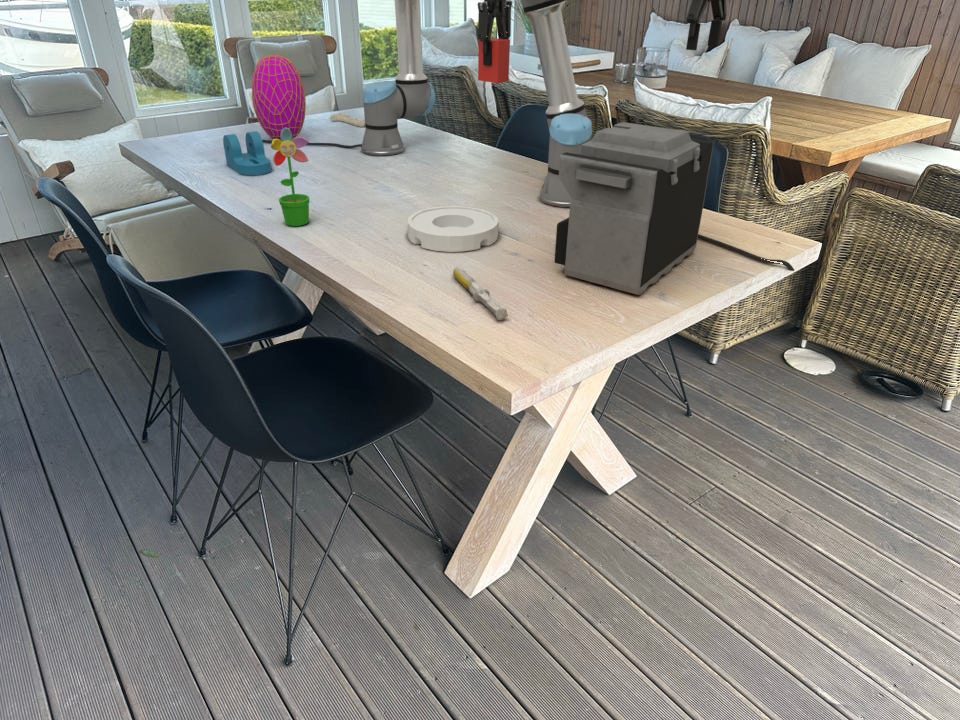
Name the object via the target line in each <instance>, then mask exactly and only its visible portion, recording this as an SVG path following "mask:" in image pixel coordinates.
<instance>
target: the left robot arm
mask: <svg viewBox="0 0 960 720" xmlns="http://www.w3.org/2000/svg"><path fill="white" fill-rule="evenodd" d="M420 1H421V0H394V12H395V27H396V28H395V30H396V45H397V63H398V74H397V75H396V76H395V82H394V81H393V80H382V81H381V80H380V81H373V82H371V83H368V84H366V85H365V86H364V88H363V90H362V102H363V115H364V116H363V117H364V120H365V126H364V127H365V130H364V134H363V137H362V143H359V144H353V145H352V144H351V145H347V144H341V143H335V142H309V143H307V144H306V145H305V146H331V147H338V148H344V149H355V148H361V152H362V153H363V154H366V155H368V156H377V157H378V156H379V157H384V156H393V155H399V154H401V153H403V152H404V151H405V148H404V147H405V146H404V143H403V140H402V137H401V134H400V131H399V127H398V126H399V125H398V120H401V119H403V120H404V119H407V118H420V117H422V116H427V115H428V114H430V113H431V111H432V110H433V108H434V106H435V101H436V91H435V89H434V85H433V84H432V83H431V82H430V81H428V80H429V79H428V76H427V75H426V74H425V73H424V64H423V63H424V62H423V42H422V23H421V22H422V20H421V2H420ZM512 7H513V1H512V0H483V1H480V2H477V10H478V15H477V17H478V19H477V20H478V21H477V40H478V41H479V40H480V41H482V42H483V65H487V66H492V42H490V39H491V38H492V35H493V34H492V33H493V28H494V22H495V24H496V25H495V26H496V31H497V38H498V39H507V40H510V37H511V34H512V33H511V32H512V30H511V28H512V27H511V26H512V25H511V23H512ZM262 141H263V143H265V144H266V143H267V144H272V141H273V140H269V139H268V140H267V139H262Z"/></svg>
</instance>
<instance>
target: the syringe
mask: <svg viewBox="0 0 960 720" xmlns="http://www.w3.org/2000/svg"><path fill="white" fill-rule="evenodd" d="M452 274H453V277H454V279H455V280H457V281H458V282H459V283H460V285H462V287H464V289H466V290H467V291H468V293H470V295H471V296H472V298H473V300H474V302H477V303H478V302H480V303H482V304H483V305H484V306H485V307H486V308H487V309H488V310H489V311H490V312H491V313H492V314H493V315H494V316H495V317H496V320H497V321H503V320H504V319H506V318H507V317H509V314H508V310H507V308H506V307H502V306H501V305H500V303H498V302H497V301H496V300H494V299H493V298H492V297H491V296H490V295H491V293H490V290H488V289H486V288H483V287H482V286H481V285H480V284H479V283H478V282H477V281H476V280H474V278H473V277H471V275H469V274H468V273H467V272H466V270H465V269H464V268H463V267H462V266H456V267H454V268H453V271H452Z"/></svg>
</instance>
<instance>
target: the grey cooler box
mask: <svg viewBox="0 0 960 720" xmlns="http://www.w3.org/2000/svg"><path fill="white" fill-rule="evenodd" d="M593 135H594V136H593V137H591V141H589V142H586V143H584V144H582V145H581V154H580V155H579V154H573V153H568V152H566V153H563V154H561V155H560V165H559V178H560V180H561V181H562V183H563V185H564V186H565V188H566V190H567V191H568V193H569V195H570V196H571V198H572V199H571V202H570V207H569V211H568V212H569V213H568V217H566V218H565V219H563V220H561V221H559V222H558V223H557V224H556V231H555V247H554V263H555V264H558V265H561V266H564V270H563V271H564V274H565V275H566V276H569V277H572V278H575V279H579V280H583V281H586V282H589V283H594V284H597V285H600V286H605V287H609V288H612V289H615V290H619V291H622V292H626V293H629V294H633V295H636V296H637V295H639V296H640V295H642V294H644V293H645V292H646V290H647V289H648V287H649V286H650V285H654V284H656V283H657V282H659V279H660V278H661V276H662V275H663V276H665V275H667V274H669V273H670V272H671V270H672V269H673V267H674V266H678V265H679V264H680V263H682V262H683V260H684V258H685V257H689V256H690V255H692V254H693V252H694V251H695V249H696V247H697V243H698V239H699V238H698V234H700V233H699V231H700V226H701V221H702V216H703V209H704V206H705V205H704V204H705V198H706V193H707V187H708V178H709V174H710V173H709V172H710V167H711V162H712V156H713V150H714V145H715V141H714V140H708V139H701V138H694V137H691V136H690V133H689V131H687V130H681V129H673V128H667V127H661V126H660V127H659V126H652V125H645V124H638V123H631V122H627V121H626V122H625V121H621V122H619V123H616V124H614V125H613V126H612V127H610V128H609V127H605V128H603V129H599V130H597V131H596V132H595V133H594V134H593Z"/></svg>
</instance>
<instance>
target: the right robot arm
mask: <svg viewBox="0 0 960 720" xmlns="http://www.w3.org/2000/svg"><path fill="white" fill-rule="evenodd" d="M565 3H566V0H521V4H522V5H521V6H522V9H523V13H524V15H525V16H527V17H528V18H529V19H531V25H532V30H533V35H534V40H535V44H536V45H535V46H536V48H537V49H536V50H537V53H538V59H539V63H540V68H541V73H542V78H543V82H544V87H545V92H546V97H547V101H548V107H547V109H546V110H545V117H546V121H547V127H548V131H549V144H548V156H547V157H548V159H547V173H546V176H545V178H544V181H543V184H542V187H541V189H540V192H539V200H540V202H542V203H543V204H546V205H549V206H553V207H558V208H559V207H560V208H570V202H571V199H572V198H571V196H570V195H569V193H568V191H567V190H566V188H565V186H564V185H563V183H562V181H561V180H560V178H559V165H560V155H561V154H563V153H566V152H568V153H573V154H579V155H580V154H581V145H582V144H584V143H586V142H589V141H591V140H592V134H593V123H592V120H591V119H590V118H589V117H587V111H586V107H585V102H584V101H583V100H582V99H580V97H578V92H577V86H576V81H575V76H574V71H573V65H572V60H571V55H570V50H569V49H570V48H569V44H568V38H567V34H566V28H565V24H564V19H563V12H562V9H563V7H564V5H565ZM709 3H710V7H711V12H712V18H713V19H712V20H711V21H710V27H709V33H708V40H707V47H718V46H719V40H720V34H721V29H722V22H724V21H726V20H727V16H728V15H727V11H728V10H727V0H692V1H691V4H690V6H689V10H688V13H687V15H686V21H685V23H687V24H689V28H688V34H687V41H686V48H685V49H686V50H685V51H697V49H698V44H699V43H698V42H699V37H700V31H701V23H700V22H701V19H702V17H703V15H704V13H705V11H706V9H707V6H708V5H709ZM697 239H700V240H703V241H706V242H708V243H712V244H714V245H717V246H720V247H722V248H725V249H728V250H729V251H732V252H735V253H738V254H740V255H743V256H745V257H748V258H750V259H753V260H755V261H758V262H761V263H764V264H770V265H781V266H784V267H786V268H787V269H788V270H789V271H791V272H794V271H795V269H794V267H793V266H792V265H791V263H790V262H788V261H786V260H783V259H770V258H766V257H762V256H758V255H756V254H753V253H751V252H749V251H746V250H743V249H741V248H738V247H735V246H734V245H730V244H727V243H725V242H722V241H720V240H717V239H713V238H711V237H708V236H706V235H703V234H700V233H698V238H697ZM761 258H762V259H761ZM764 259H765V260H764ZM767 260H770V261H777V262H782V263H783V264H780V263H774V262H770V261H767Z"/></svg>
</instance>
